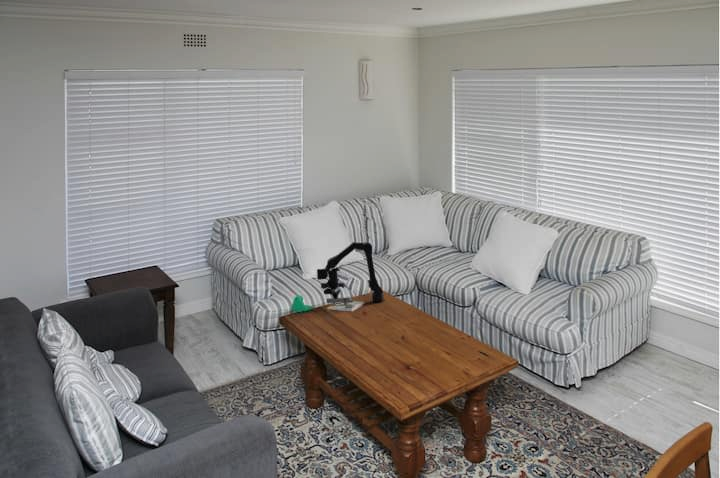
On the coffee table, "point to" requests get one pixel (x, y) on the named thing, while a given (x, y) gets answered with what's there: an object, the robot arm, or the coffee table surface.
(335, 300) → the footscrew knob
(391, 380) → the coffee table surface
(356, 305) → the levelling board
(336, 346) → the coffee table surface
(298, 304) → the green irregular lump
